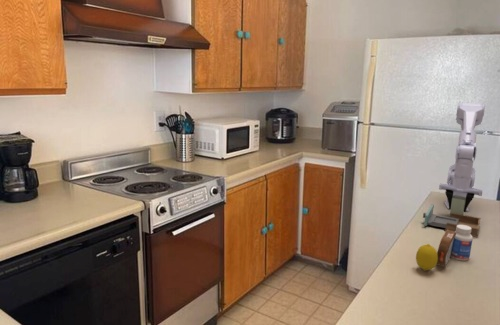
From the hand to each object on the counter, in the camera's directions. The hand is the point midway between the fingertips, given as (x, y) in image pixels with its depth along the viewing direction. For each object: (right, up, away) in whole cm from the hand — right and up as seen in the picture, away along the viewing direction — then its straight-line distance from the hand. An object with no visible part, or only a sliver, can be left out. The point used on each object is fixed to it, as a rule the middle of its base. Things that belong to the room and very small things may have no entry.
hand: (457, 210), depth 152 cm
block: (0, -2, 0) cm, 2 cm away
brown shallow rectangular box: (-3, -6, -9) cm, 11 cm away
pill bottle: (-16, -11, -32) cm, 37 cm away
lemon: (-31, -12, -41) cm, 52 cm away
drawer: (-9, -4, -6) cm, 12 cm away
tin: (-22, -11, -35) cm, 42 cm away
